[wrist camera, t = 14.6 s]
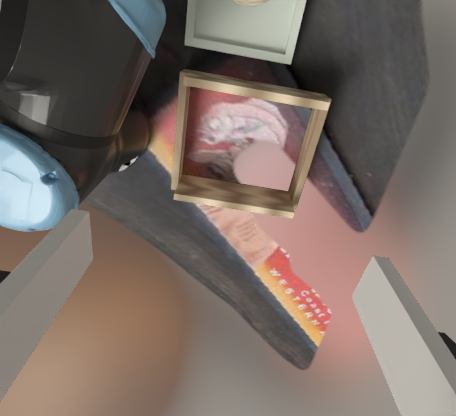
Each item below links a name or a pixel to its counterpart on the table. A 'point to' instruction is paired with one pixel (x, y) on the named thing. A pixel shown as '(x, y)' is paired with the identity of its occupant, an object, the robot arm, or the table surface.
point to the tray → (245, 28)
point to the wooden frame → (235, 192)
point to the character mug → (250, 2)
